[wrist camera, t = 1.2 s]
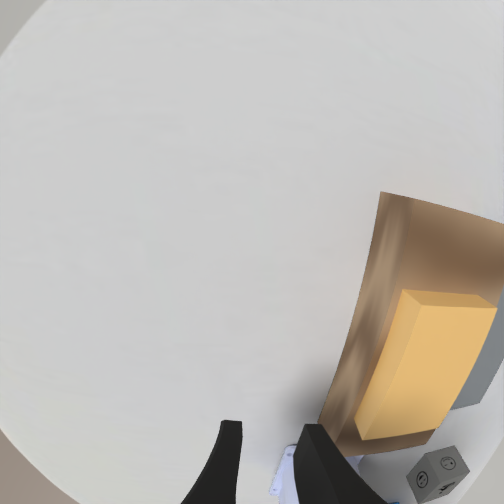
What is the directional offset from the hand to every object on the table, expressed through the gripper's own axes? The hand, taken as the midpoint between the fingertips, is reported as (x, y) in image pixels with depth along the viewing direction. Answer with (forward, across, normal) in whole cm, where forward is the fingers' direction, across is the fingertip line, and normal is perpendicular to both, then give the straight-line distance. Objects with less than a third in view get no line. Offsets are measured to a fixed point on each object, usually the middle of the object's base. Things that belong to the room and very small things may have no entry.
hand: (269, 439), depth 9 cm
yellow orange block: (+5, -10, 0) cm, 11 cm away
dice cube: (+10, -24, +19) cm, 32 cm away
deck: (+9, -10, 0) cm, 14 cm away
